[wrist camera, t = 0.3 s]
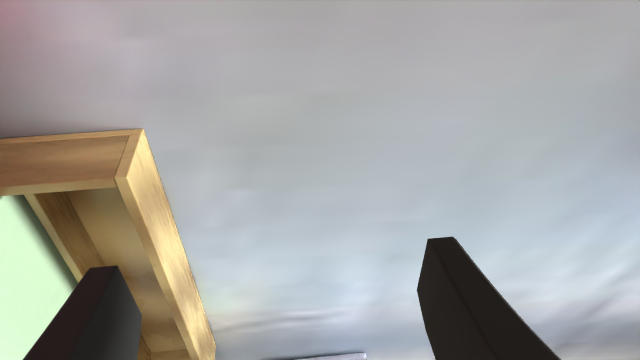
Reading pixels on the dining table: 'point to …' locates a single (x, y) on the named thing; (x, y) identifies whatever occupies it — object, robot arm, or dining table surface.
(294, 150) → the dining table surface
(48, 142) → the coaster basket
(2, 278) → the sage coaster
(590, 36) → the dining table surface
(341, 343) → the dining table surface
